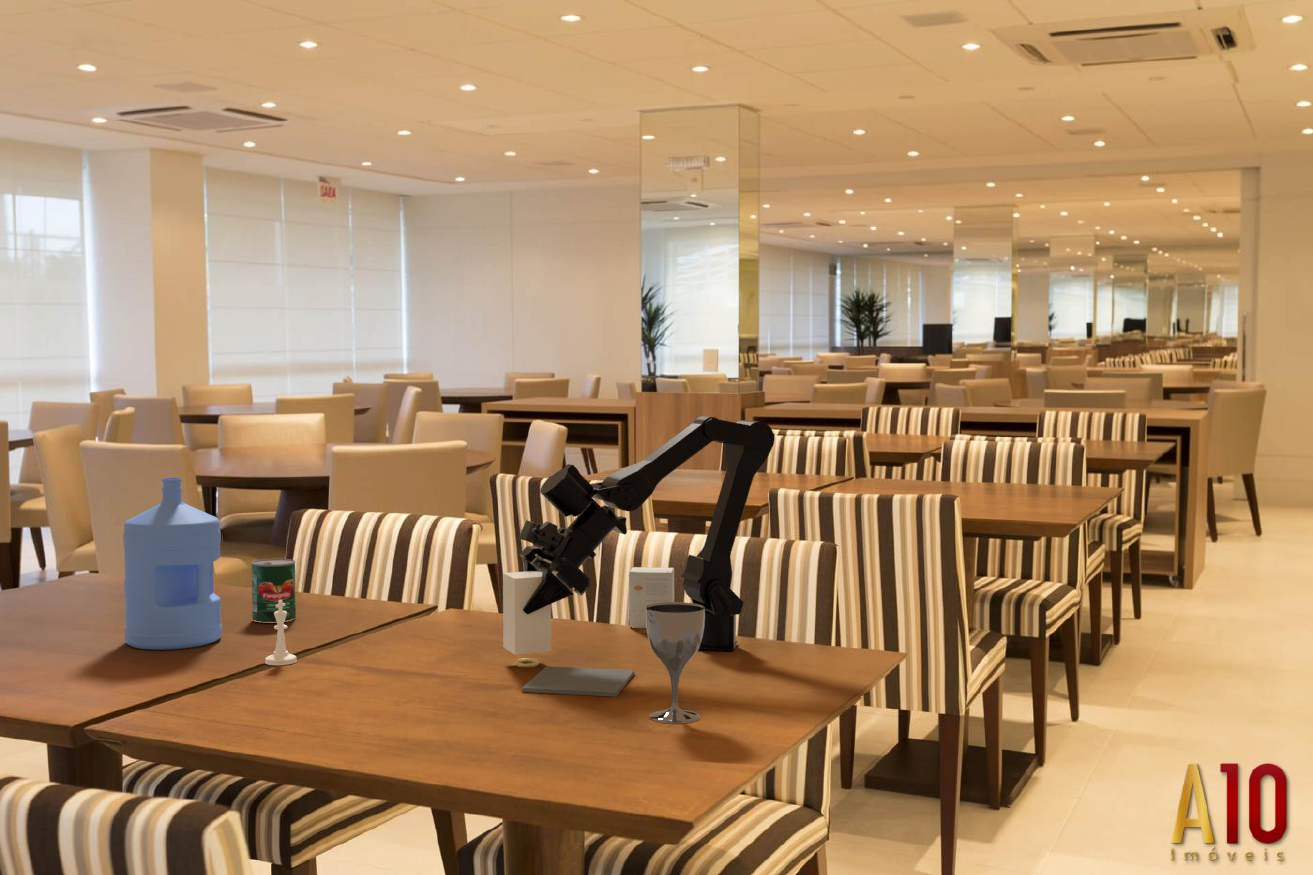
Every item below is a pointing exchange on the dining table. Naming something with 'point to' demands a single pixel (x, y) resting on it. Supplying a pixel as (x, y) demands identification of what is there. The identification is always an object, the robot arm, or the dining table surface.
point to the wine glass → (675, 648)
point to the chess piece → (280, 641)
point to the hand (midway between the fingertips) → (518, 608)
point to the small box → (648, 591)
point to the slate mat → (579, 681)
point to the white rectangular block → (524, 615)
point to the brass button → (527, 662)
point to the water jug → (171, 575)
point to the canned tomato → (273, 588)
